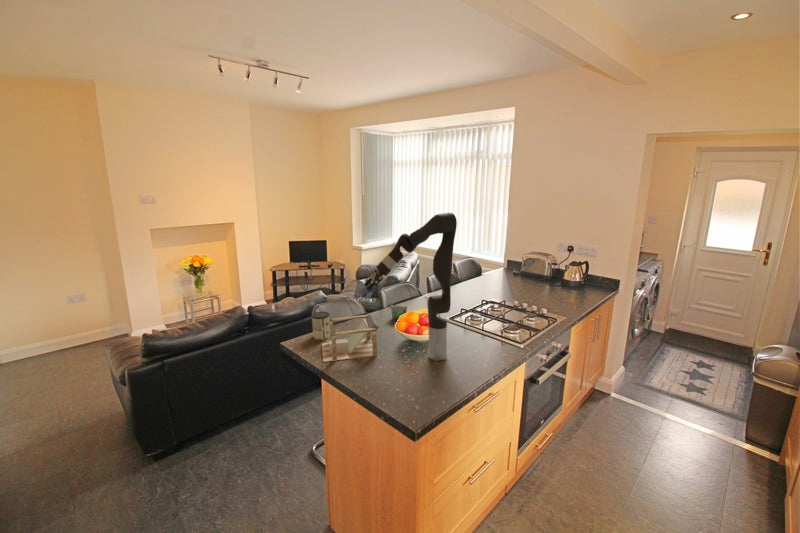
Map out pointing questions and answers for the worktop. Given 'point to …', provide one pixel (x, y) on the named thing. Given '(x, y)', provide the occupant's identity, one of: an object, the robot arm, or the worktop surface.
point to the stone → (339, 345)
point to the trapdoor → (357, 337)
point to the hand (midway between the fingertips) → (366, 287)
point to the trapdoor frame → (362, 349)
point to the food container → (397, 311)
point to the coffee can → (321, 325)
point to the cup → (429, 296)
